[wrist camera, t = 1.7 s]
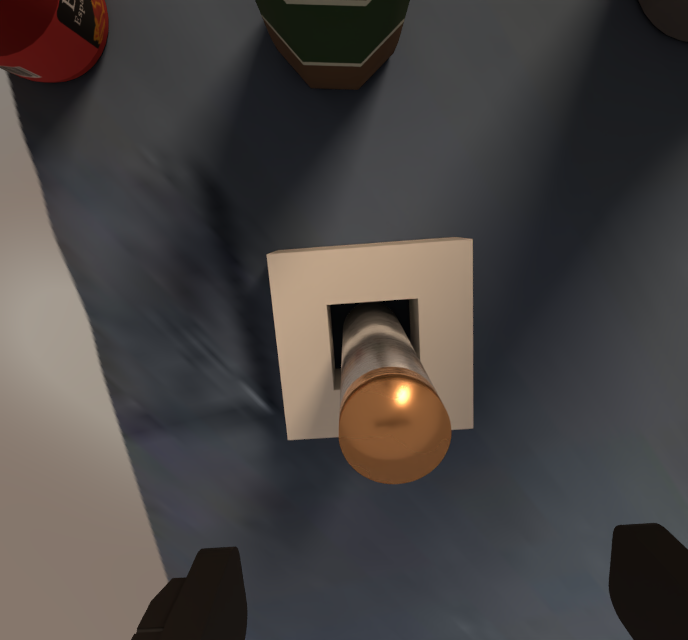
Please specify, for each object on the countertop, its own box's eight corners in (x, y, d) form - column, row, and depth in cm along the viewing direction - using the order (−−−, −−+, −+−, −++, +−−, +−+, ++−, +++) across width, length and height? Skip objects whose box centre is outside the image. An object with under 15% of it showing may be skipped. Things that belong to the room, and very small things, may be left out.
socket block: (455, 236, 28) (472, 239, 24) (457, 402, 30) (473, 428, 27) (277, 250, 28) (266, 254, 24) (295, 412, 31) (287, 440, 27)
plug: (398, 299, 29) (450, 377, 14) (400, 354, 30) (452, 480, 15) (340, 303, 29) (334, 385, 14) (345, 358, 30) (342, 487, 15)
